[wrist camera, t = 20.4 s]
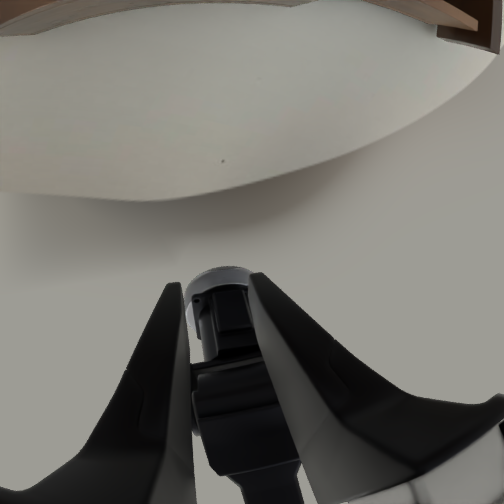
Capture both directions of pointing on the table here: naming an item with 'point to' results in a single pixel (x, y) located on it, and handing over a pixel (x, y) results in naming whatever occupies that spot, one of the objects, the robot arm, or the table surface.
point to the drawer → (456, 19)
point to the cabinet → (85, 11)
